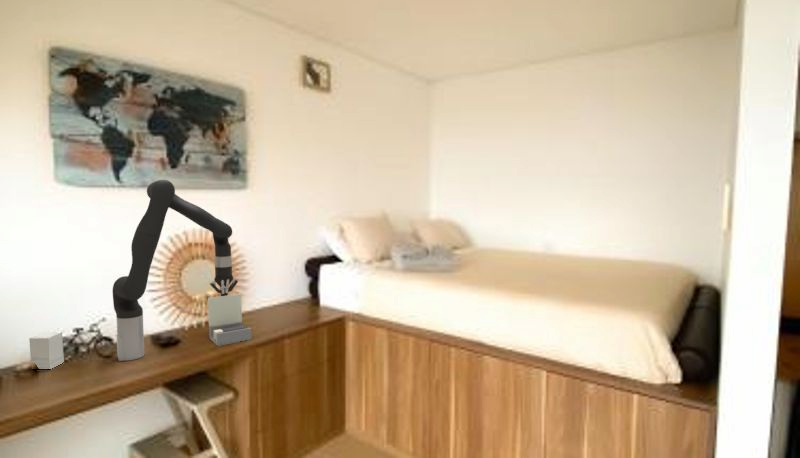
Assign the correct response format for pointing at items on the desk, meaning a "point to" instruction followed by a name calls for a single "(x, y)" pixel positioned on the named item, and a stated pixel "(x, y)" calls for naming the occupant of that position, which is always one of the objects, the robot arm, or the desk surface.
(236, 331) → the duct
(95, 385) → the desk surface
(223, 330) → the gray white block
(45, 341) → the supplement box
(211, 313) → the panel
